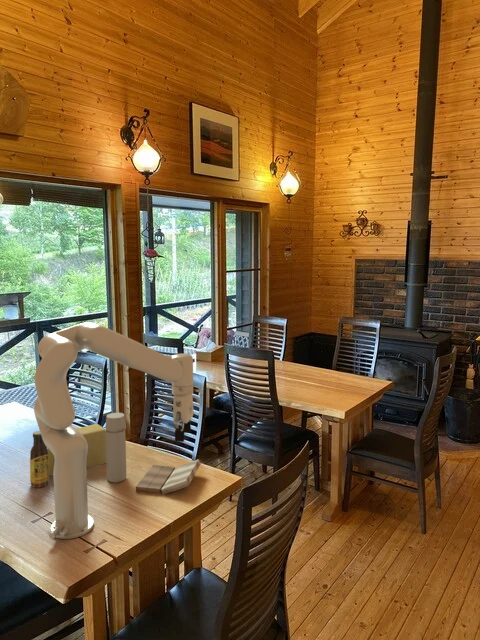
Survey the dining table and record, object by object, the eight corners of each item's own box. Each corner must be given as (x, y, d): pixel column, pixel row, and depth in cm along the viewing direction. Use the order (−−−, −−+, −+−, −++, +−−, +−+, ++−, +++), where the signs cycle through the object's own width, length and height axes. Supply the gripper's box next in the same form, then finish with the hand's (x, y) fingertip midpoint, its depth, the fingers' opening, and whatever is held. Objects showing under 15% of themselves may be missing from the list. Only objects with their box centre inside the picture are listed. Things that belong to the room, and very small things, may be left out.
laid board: (159, 494, 169) (159, 488, 169) (135, 491, 171) (135, 486, 170) (174, 471, 187) (174, 466, 187) (153, 469, 188) (152, 464, 188)
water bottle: (122, 484, 176) (120, 419, 173) (102, 482, 178) (100, 417, 174) (132, 473, 185) (131, 411, 182) (113, 471, 186) (112, 410, 183)
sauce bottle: (35, 490, 171) (32, 437, 169) (27, 484, 175) (24, 433, 173) (52, 484, 176) (50, 432, 173) (44, 478, 180) (42, 428, 178)
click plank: (188, 485, 167) (185, 480, 167) (163, 494, 169) (161, 489, 169) (200, 463, 185) (198, 459, 184) (178, 471, 187) (176, 467, 186)
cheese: (52, 479, 179) (50, 441, 177) (43, 470, 187) (42, 434, 185) (107, 463, 194) (106, 428, 192) (97, 456, 201) (96, 421, 199)
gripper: (186, 396, 159) (186, 447, 161) (199, 383, 176) (199, 428, 178) (164, 395, 160) (165, 445, 162) (179, 382, 177) (179, 427, 179)
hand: (183, 436), depth 170 cm, fingers open, 7 cm apart
